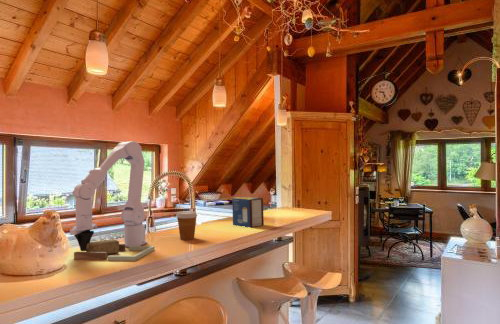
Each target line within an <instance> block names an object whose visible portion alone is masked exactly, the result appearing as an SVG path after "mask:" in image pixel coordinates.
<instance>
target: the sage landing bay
mask: <svg viewBox="0 0 500 324" xmlns="http://www.w3.org/2000/svg"><path fill="white" fill-rule="evenodd" d="M155 247H156V246H155V245H141V246H129V247H128V251H139V252H138V253H136V254H134V255H107V261H111V262H116V261H117V262H122V261H123V262H136V261H138V260H139V259H141V258H143V257H144V256H146V255H148V254H151V252H153V251H155Z"/></svg>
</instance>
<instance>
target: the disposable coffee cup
mask: <svg viewBox="0 0 500 324" xmlns="http://www.w3.org/2000/svg"><path fill="white" fill-rule="evenodd" d="M176 213H177V214H176V219H177V225H178V233H179V237H180V240H181V241H189V240H194V239H195V235H196V233H195V232H196V225H197V217H198V213H197V212H196V211H179V212H178V211H177V212H176Z"/></svg>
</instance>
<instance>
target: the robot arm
mask: <svg viewBox="0 0 500 324" xmlns="http://www.w3.org/2000/svg"><path fill="white" fill-rule="evenodd" d="M142 151H143V149H142V146H141V145H140V144H139V142H137V141H135V140H131V141H126V142H125V141H124V142H123V141H122V142H119V143H117V145H116V146H115V147H114V148H112V150H111V152H110V153H109V154H108V156H107V157H106V159H105V160H104V161H103V162H102V163H101V164H100V166H99V167H96V168H93V169H90V170H89V171H88V175H87V176H86V177H85V178H84V179H81V181H80V184H77V185H76V186H74V188H73V191H72V195H73V197H74V198H75V226H73V227H72V228H70V229H69V235H70V236H74V237H75V239H76V241H77V242H78V247H79V248H80V252H86V251H87V250H86V248H87V243H91V240H92V237H93V235H94V233H95V231H94V230H97V229H98V223H93V197H94V196H95V194H96V190H97V188H98V187H99V186H100V185H101V184H102V183H103V182H104V180H105V179H106V177H107V176H106V175H107V172H108V171H109V170H111V169H112V167H114V165H115V164H116V163H117V162H118V161H119V160H121V159H125V160H126V161H127V162H128V163H129V164H130V169H129V170H130V173H129V182H128V190H127V191H128V192H127V201H126V202H125V203H124V205H123V210H122V211H121V213H120V214H121V215H120V218H121V220H122V221H123V224H124V225H123V226H124V229H123V230H124V233H123V234H124V239H123V240H124V244H125V248H126V247H127V248H129V246H144V245H145V244H147V243H148V241H147V240H146V227H145V224H143V222H144V221H145V218H146V213H145V206H144V205H143V203H142V193H143V181H144V171H145V159H144V155H143V152H142Z"/></svg>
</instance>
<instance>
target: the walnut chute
mask: <svg viewBox="0 0 500 324" xmlns="http://www.w3.org/2000/svg"><path fill="white" fill-rule="evenodd" d="M120 251H121V252H124V251H126V247H125V243H119V252H120ZM73 260H77V261H78V260H79V261H80V260H84V261H85V260H92V261H93V260H94V261H95V260H97V261H99V260H100V261H106V260H108V254H107V252H86V251H74V252H73Z"/></svg>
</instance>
